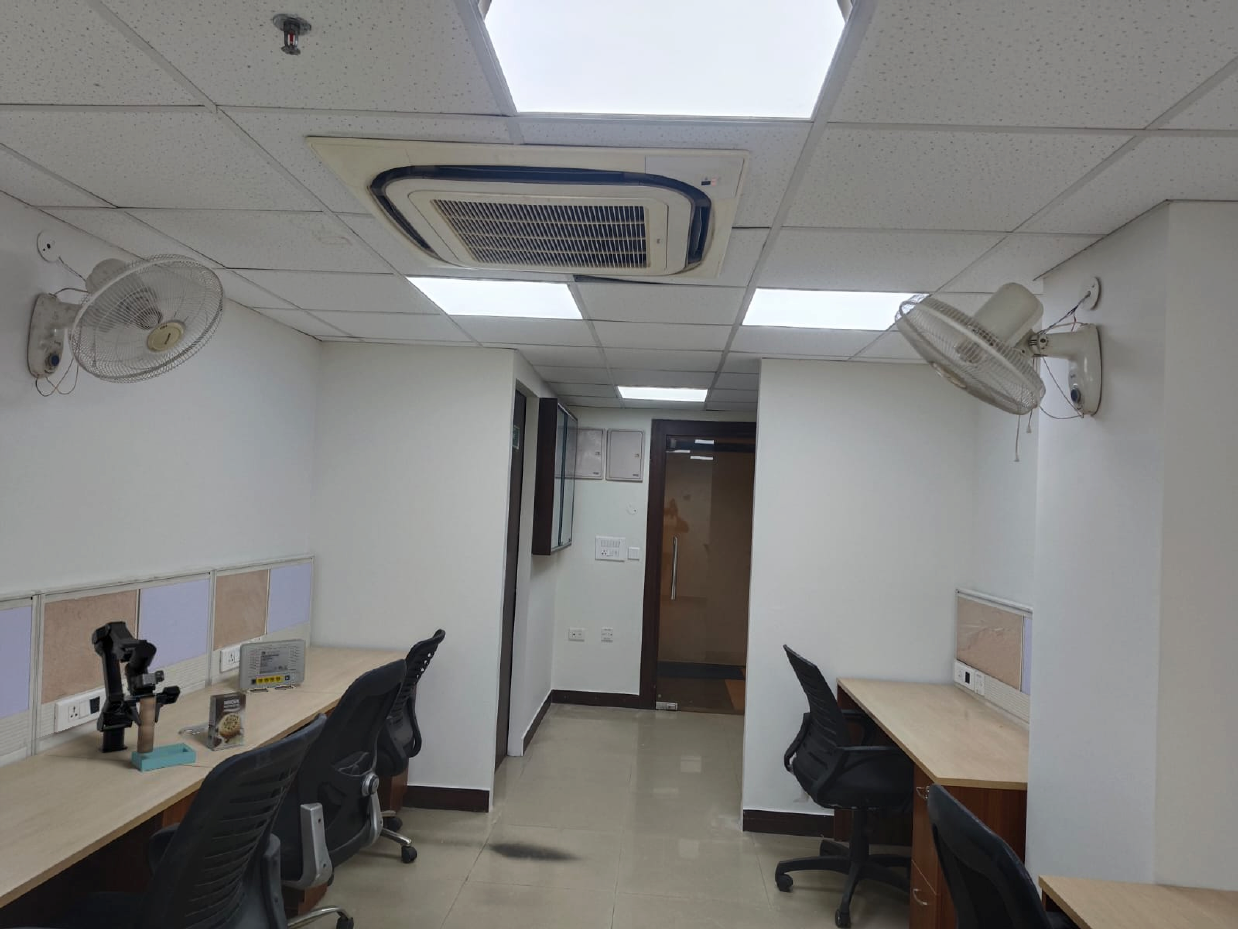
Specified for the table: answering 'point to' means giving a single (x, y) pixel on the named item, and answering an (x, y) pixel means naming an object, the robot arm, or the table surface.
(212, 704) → the brown cookie box
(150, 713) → the peg
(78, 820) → the table surface
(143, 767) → the holder block
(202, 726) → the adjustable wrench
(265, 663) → the network device
